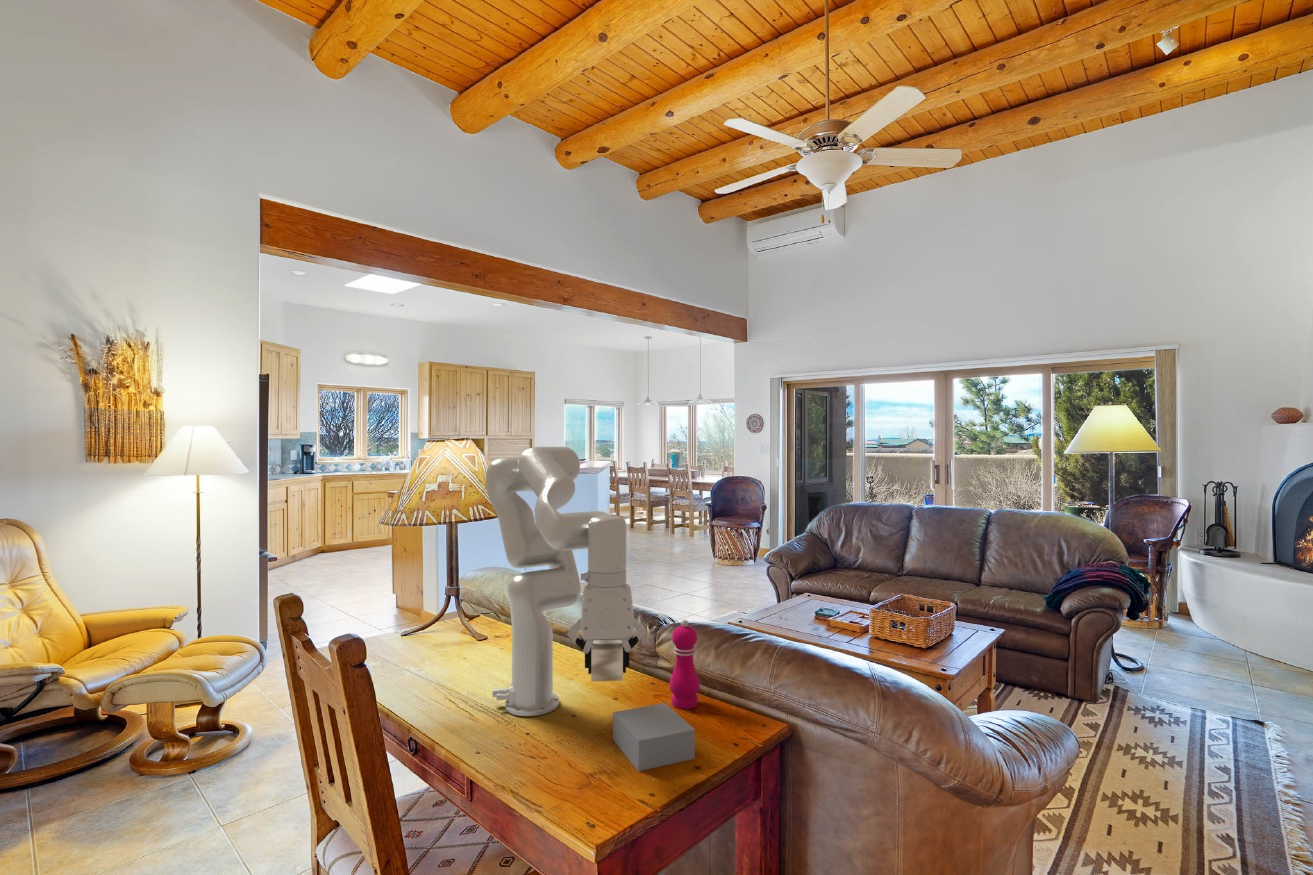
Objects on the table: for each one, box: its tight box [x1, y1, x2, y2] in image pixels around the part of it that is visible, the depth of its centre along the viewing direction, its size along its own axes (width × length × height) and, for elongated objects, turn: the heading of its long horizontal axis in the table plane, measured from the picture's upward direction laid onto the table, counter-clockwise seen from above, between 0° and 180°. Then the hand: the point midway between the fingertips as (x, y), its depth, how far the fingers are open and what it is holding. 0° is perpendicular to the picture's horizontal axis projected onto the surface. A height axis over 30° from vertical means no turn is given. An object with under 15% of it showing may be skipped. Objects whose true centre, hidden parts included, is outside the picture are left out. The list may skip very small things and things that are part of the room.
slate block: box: [612, 702, 696, 772], centre depth 128 cm, size 12×14×6 cm
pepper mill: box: [668, 619, 701, 710], centre depth 150 cm, size 7×7×20 cm
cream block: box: [590, 640, 624, 682], centre depth 123 cm, size 6×6×6 cm
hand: (607, 670), depth 123 cm, fingers closed on cream block, 6 cm apart
